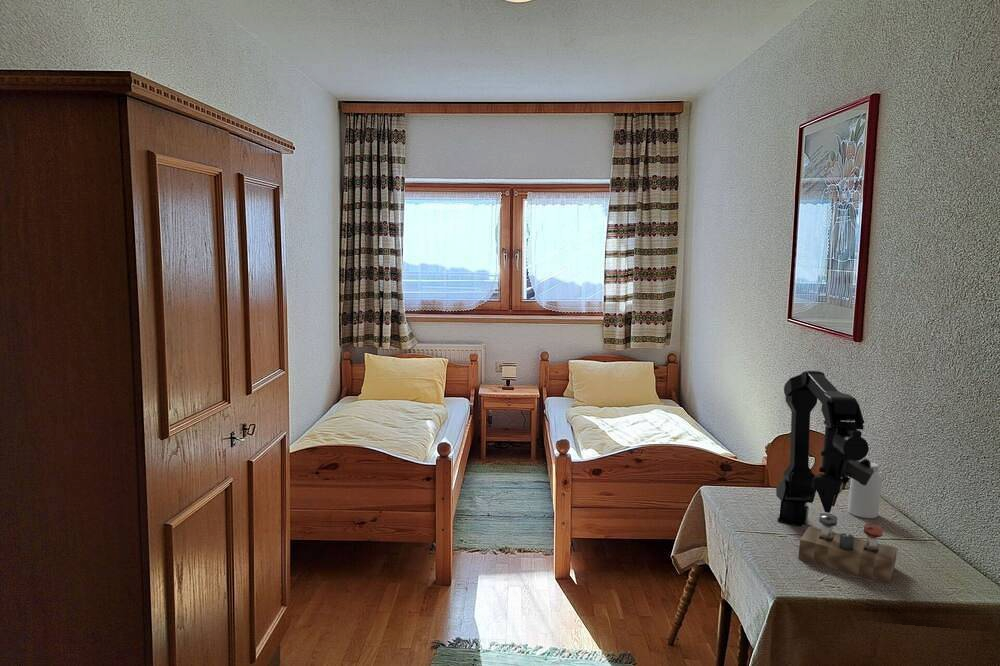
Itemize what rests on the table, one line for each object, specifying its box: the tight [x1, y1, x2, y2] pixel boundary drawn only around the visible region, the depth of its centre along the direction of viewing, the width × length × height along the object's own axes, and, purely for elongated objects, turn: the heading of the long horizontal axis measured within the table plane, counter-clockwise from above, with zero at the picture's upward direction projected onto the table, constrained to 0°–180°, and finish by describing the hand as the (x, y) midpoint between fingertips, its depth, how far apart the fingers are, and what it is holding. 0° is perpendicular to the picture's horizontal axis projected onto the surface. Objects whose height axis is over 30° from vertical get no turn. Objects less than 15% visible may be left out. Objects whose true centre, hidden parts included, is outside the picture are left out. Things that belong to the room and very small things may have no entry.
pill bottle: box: [847, 460, 883, 519], centre depth 210 cm, size 8×8×15 cm
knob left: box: [818, 512, 838, 542], centre depth 181 cm, size 4×4×7 cm
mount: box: [797, 526, 898, 584], centre depth 179 cm, size 20×10×5 cm, turn 56°
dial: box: [839, 532, 855, 551], centre depth 176 cm, size 3×3×3 cm
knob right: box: [863, 523, 884, 553], centre depth 175 cm, size 4×4×7 cm
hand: (829, 509), depth 180 cm, fingers open, 5 cm apart
